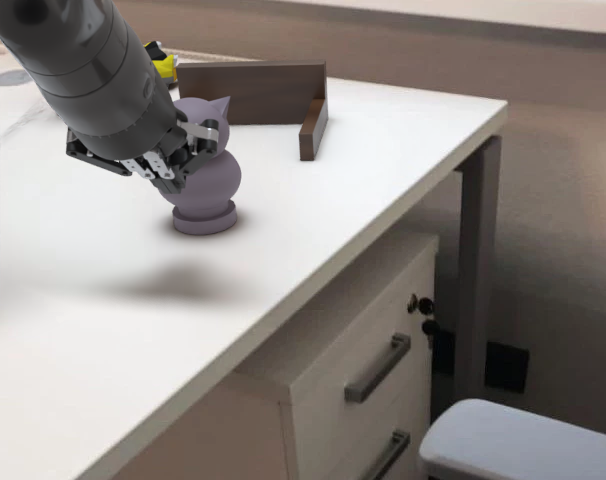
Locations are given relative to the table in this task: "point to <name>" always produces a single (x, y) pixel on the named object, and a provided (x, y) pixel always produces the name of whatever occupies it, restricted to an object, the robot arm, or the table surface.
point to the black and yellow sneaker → (162, 62)
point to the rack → (265, 93)
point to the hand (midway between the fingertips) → (173, 183)
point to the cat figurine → (207, 177)
